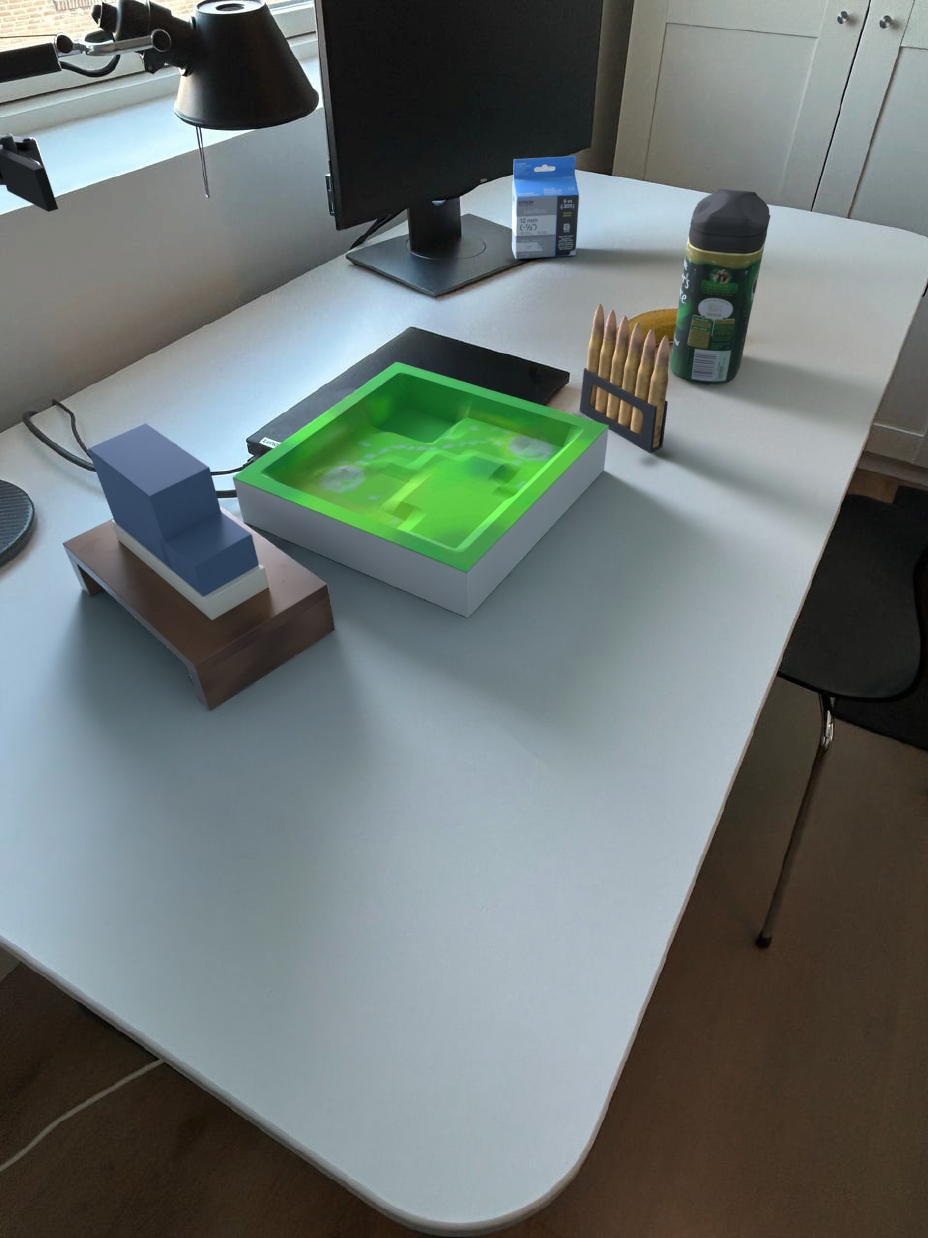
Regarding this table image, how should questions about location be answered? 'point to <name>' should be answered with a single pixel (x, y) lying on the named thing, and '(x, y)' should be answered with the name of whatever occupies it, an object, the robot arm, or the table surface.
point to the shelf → (209, 648)
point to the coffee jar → (718, 285)
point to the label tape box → (544, 208)
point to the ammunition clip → (626, 381)
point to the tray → (425, 483)
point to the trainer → (177, 520)
